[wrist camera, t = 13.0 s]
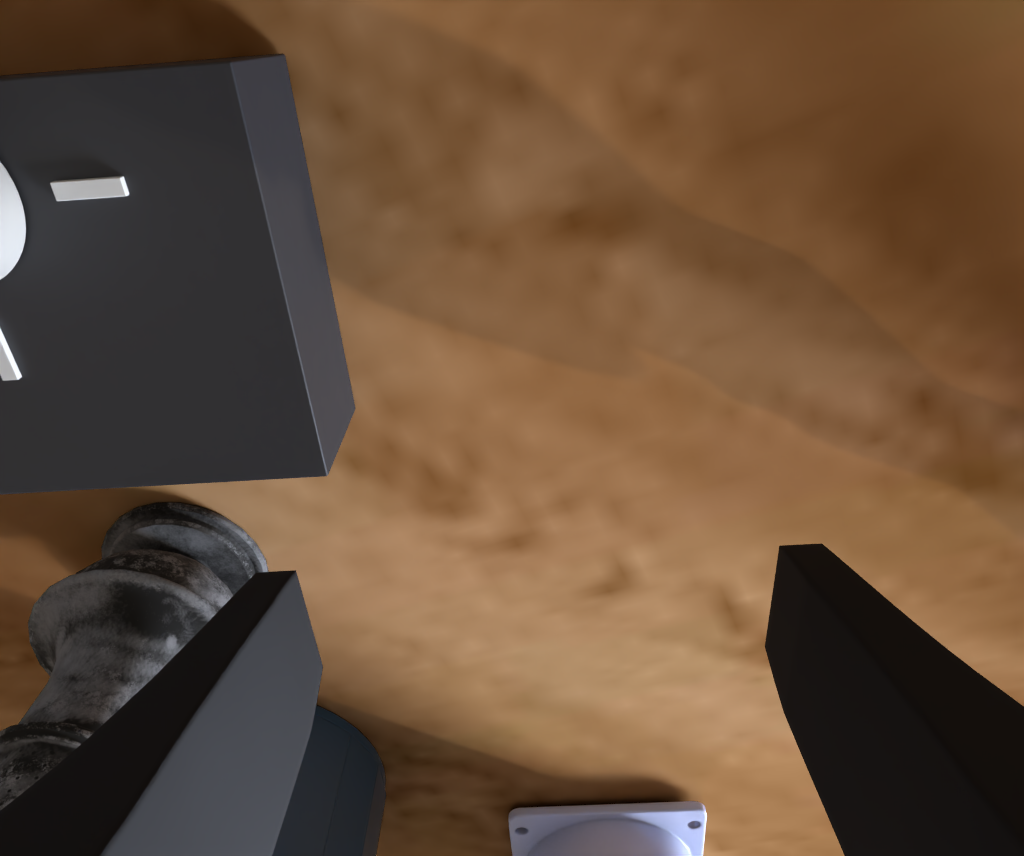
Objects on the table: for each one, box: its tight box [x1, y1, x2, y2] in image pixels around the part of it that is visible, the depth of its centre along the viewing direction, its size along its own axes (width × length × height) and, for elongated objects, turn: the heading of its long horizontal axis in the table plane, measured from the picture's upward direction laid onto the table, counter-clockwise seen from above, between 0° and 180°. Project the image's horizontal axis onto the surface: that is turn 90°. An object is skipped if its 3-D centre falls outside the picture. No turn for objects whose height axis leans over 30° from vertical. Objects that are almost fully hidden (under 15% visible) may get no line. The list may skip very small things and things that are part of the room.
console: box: [0, 54, 355, 494], centre depth 16 cm, size 11×13×4 cm
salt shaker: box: [0, 503, 268, 810], centre depth 18 cm, size 6×6×12 cm
